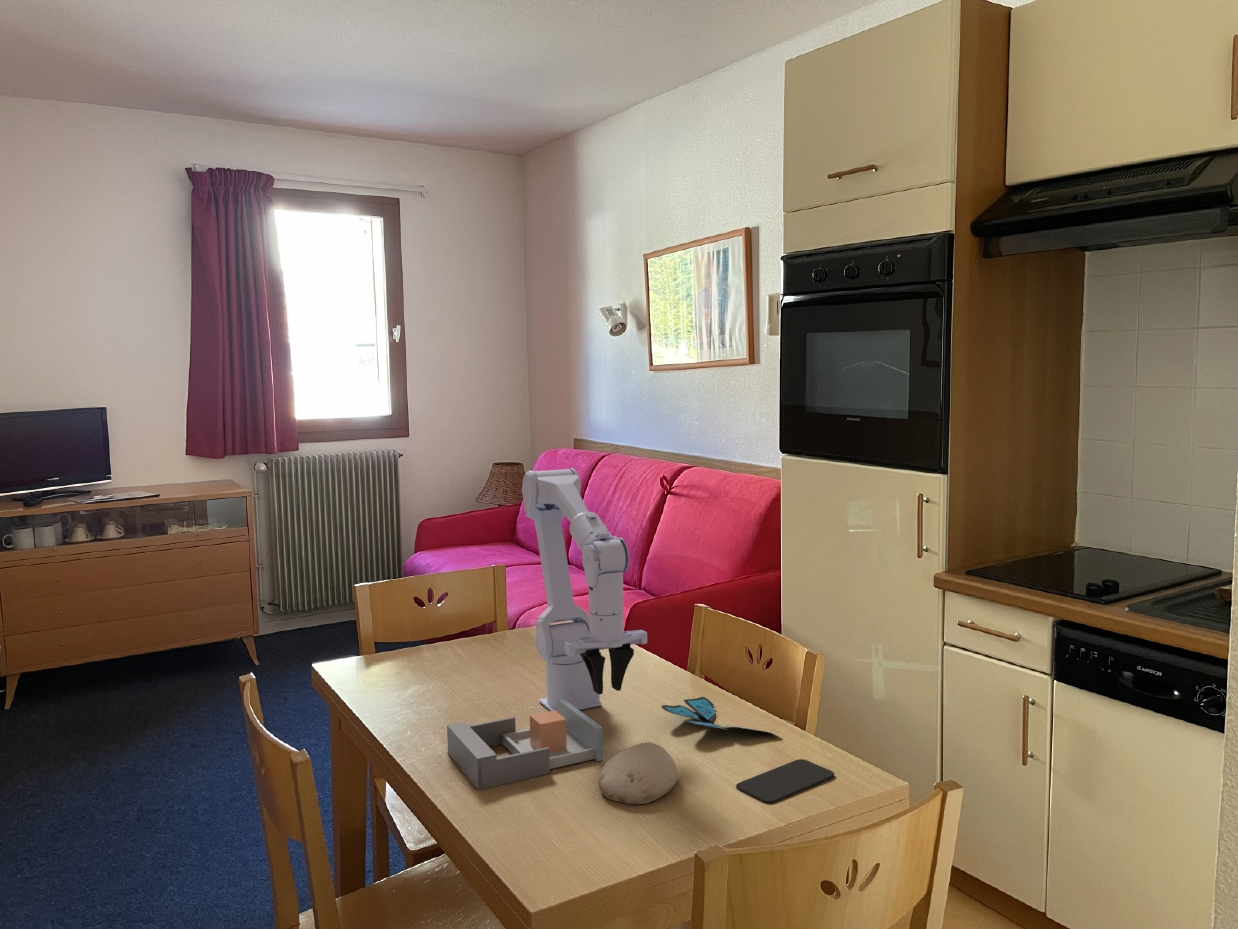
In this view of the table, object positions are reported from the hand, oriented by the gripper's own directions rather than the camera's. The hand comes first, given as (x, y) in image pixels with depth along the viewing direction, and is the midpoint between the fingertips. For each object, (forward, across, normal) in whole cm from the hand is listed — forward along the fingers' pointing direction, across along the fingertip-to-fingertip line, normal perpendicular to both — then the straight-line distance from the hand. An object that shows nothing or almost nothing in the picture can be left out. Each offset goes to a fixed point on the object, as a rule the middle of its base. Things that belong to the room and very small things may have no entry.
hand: (607, 690), depth 154 cm
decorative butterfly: (+9, +18, -4) cm, 21 cm away
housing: (+8, -20, 0) cm, 21 cm away
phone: (+9, +16, -28) cm, 33 cm away
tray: (+8, -12, 0) cm, 14 cm away
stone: (+9, -4, -18) cm, 21 cm away
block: (+8, -11, 0) cm, 13 cm away
